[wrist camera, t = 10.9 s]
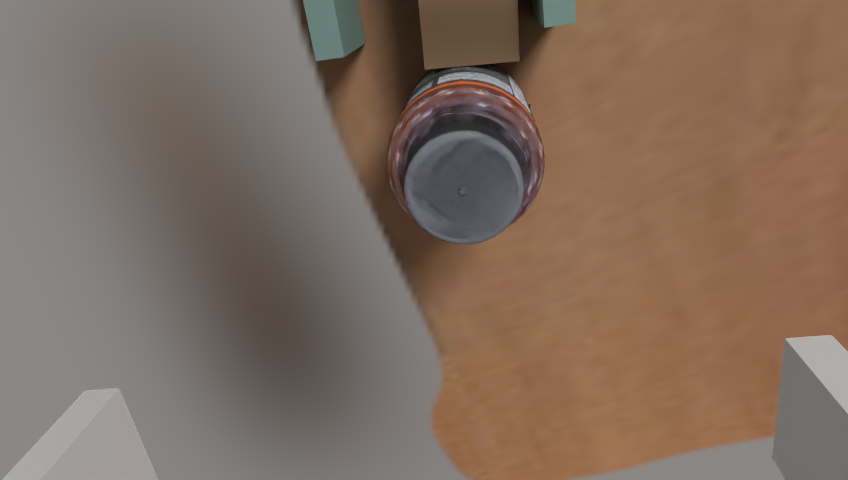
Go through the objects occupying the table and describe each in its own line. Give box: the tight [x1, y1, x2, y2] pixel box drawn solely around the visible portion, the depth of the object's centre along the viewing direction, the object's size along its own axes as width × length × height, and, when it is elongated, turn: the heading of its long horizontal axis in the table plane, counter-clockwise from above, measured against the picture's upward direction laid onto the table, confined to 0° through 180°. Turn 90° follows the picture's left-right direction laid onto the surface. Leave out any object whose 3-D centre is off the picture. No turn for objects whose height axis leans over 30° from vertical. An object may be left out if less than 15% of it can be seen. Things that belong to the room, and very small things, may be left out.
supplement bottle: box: [387, 64, 545, 244], centre depth 25 cm, size 6×6×11 cm
